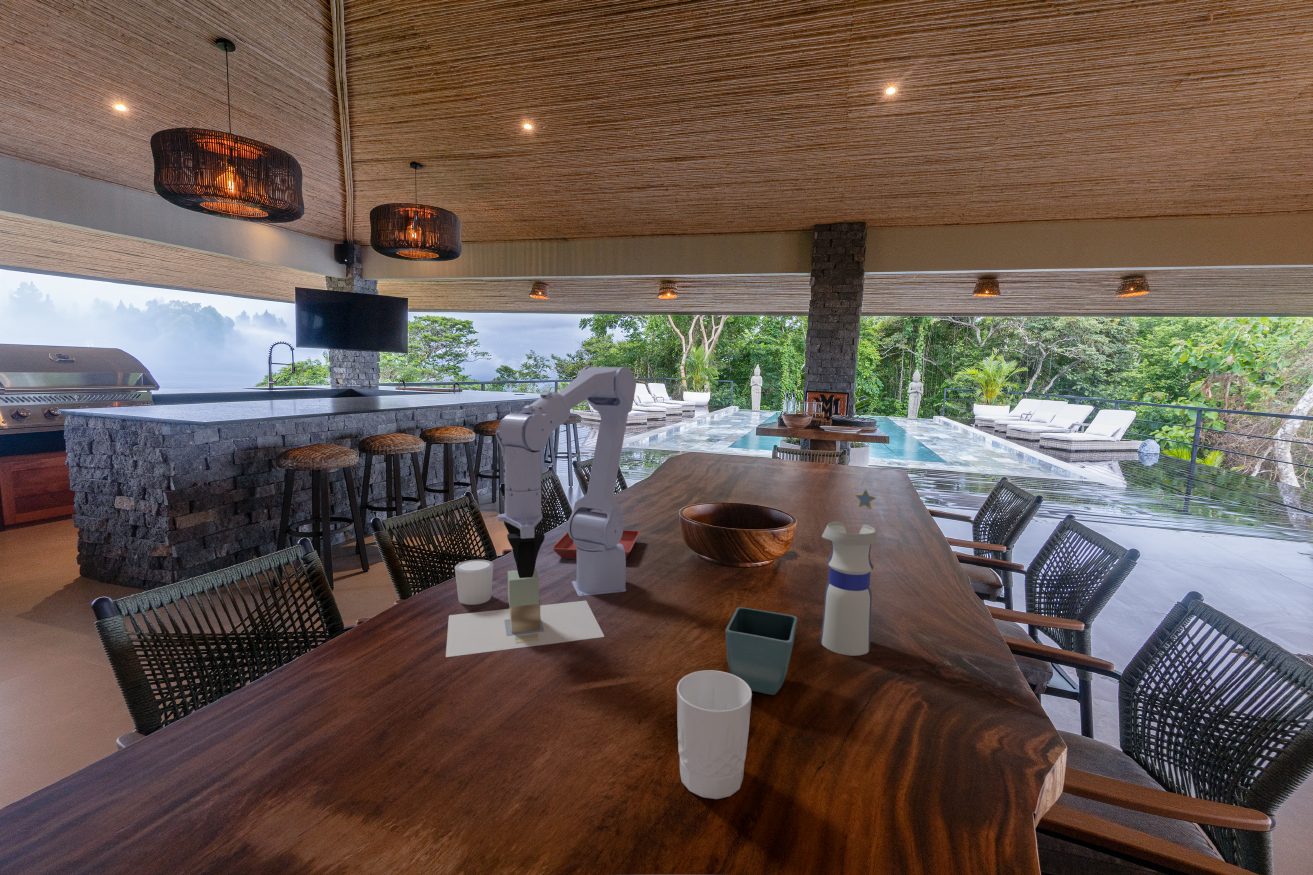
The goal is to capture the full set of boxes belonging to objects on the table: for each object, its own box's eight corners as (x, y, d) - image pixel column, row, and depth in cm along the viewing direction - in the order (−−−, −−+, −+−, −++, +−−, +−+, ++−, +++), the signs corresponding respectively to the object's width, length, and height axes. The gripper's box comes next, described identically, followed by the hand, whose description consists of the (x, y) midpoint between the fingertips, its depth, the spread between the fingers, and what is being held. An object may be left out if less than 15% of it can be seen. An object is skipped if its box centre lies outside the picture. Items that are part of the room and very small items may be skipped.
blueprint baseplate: (586, 603, 106) (586, 600, 106) (604, 640, 92) (604, 636, 91) (448, 618, 98) (448, 614, 98) (445, 660, 84) (445, 656, 84)
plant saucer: (571, 538, 147) (571, 526, 147) (640, 542, 145) (640, 529, 145) (551, 562, 129) (551, 547, 129) (629, 566, 127) (629, 552, 127)
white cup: (670, 753, 65) (672, 670, 64) (738, 750, 65) (742, 668, 64) (679, 805, 57) (681, 712, 56) (756, 802, 58) (760, 710, 57)
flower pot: (794, 674, 82) (798, 614, 81) (788, 707, 74) (791, 642, 73) (735, 662, 85) (737, 605, 84) (722, 693, 77) (724, 630, 76)
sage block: (535, 593, 97) (535, 568, 97) (538, 603, 93) (538, 577, 92) (507, 596, 96) (507, 570, 95) (509, 606, 91) (509, 580, 91)
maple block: (537, 617, 98) (537, 593, 97) (540, 629, 93) (540, 603, 93) (509, 620, 96) (509, 595, 96) (511, 632, 92) (511, 606, 91)
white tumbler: (499, 595, 109) (499, 560, 108) (485, 610, 102) (484, 572, 101) (465, 593, 109) (464, 558, 109) (448, 607, 103) (447, 570, 102)
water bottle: (817, 628, 98) (826, 484, 95) (871, 636, 95) (881, 489, 92) (814, 649, 90) (823, 494, 87) (872, 659, 87) (883, 499, 84)
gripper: (495, 480, 98) (496, 556, 99) (499, 498, 84) (500, 587, 86) (537, 478, 100) (537, 553, 101) (548, 496, 86) (548, 582, 88)
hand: (523, 568), depth 94 cm, fingers open, 7 cm apart
